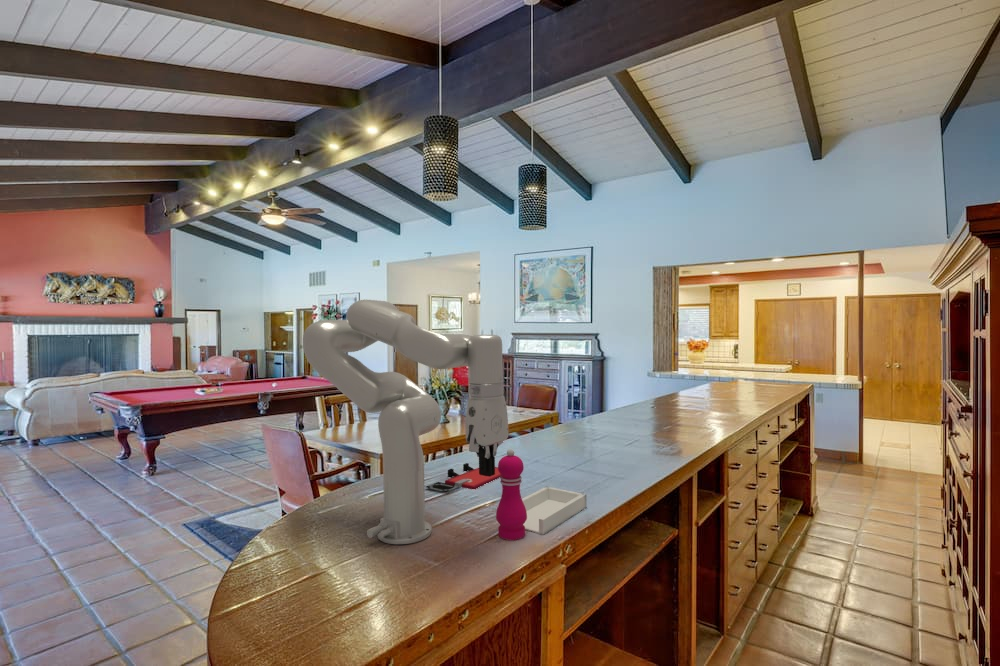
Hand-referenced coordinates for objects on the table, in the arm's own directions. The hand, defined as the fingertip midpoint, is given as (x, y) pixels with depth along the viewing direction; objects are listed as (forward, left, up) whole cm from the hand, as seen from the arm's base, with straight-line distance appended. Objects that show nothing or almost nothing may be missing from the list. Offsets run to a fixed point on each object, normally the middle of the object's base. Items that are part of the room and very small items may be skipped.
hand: (487, 474), depth 109 cm
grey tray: (+24, 0, -16) cm, 29 cm away
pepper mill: (+9, 0, -16) cm, 19 cm away
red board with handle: (+37, +37, -17) cm, 55 cm away
